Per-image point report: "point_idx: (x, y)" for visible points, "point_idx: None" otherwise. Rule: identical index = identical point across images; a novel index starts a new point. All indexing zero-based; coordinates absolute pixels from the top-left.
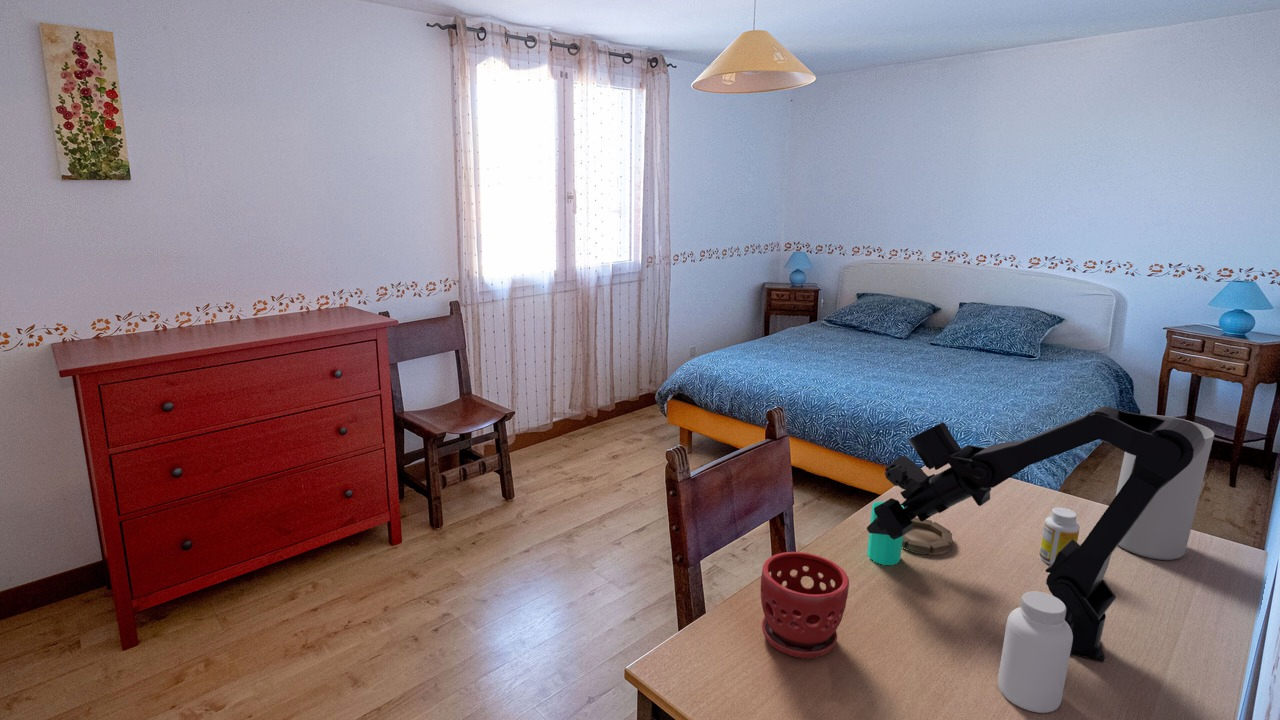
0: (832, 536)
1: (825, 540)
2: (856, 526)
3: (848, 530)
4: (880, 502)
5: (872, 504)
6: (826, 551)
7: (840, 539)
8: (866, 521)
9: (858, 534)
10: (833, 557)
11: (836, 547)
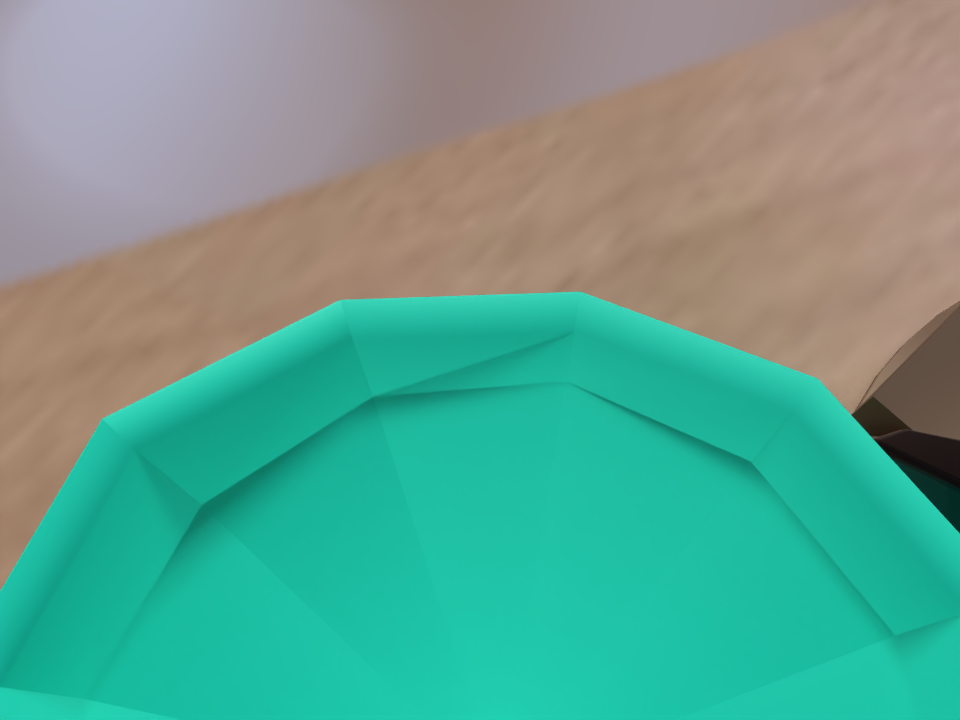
0: (306, 205)
1: (191, 236)
2: (655, 147)
3: (529, 175)
4: (559, 332)
5: (122, 411)
6: (41, 395)
7: (336, 273)
8: (813, 111)
9: (572, 265)
10: (10, 514)
11: (187, 374)
